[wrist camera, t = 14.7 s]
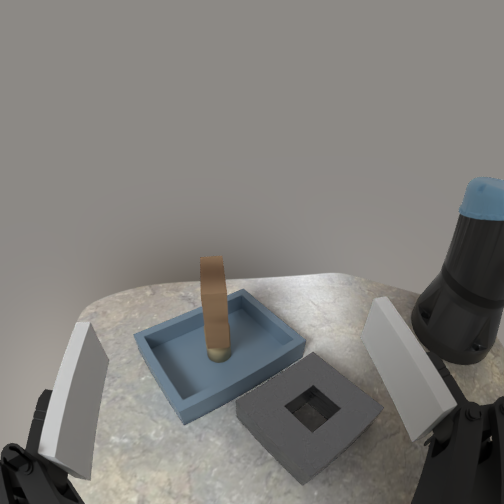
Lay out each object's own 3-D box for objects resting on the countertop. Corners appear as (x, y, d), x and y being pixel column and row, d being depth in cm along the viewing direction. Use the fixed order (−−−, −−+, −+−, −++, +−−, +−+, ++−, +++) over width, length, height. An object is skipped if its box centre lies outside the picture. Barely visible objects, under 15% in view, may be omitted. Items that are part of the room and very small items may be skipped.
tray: (243, 305, 41) (243, 288, 40) (302, 356, 33) (306, 340, 31) (139, 350, 33) (133, 334, 31) (184, 425, 25) (178, 412, 23)
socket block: (308, 370, 31) (313, 351, 29) (372, 423, 24) (384, 407, 22) (236, 416, 26) (235, 400, 24) (302, 485, 19) (310, 477, 17)
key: (206, 336, 35) (197, 257, 29) (228, 334, 35) (225, 255, 29) (208, 374, 30) (197, 294, 24) (234, 372, 30) (230, 292, 24)
